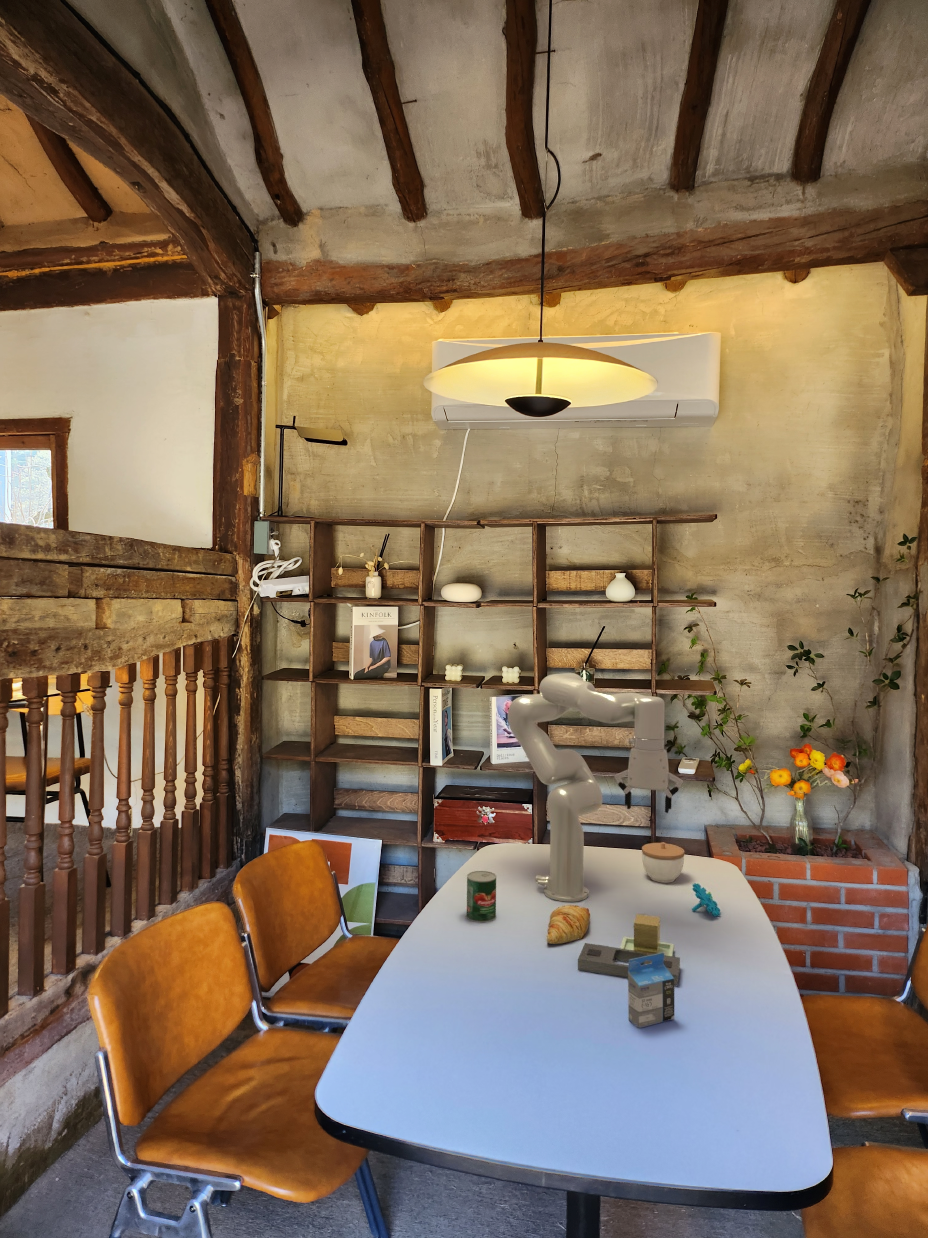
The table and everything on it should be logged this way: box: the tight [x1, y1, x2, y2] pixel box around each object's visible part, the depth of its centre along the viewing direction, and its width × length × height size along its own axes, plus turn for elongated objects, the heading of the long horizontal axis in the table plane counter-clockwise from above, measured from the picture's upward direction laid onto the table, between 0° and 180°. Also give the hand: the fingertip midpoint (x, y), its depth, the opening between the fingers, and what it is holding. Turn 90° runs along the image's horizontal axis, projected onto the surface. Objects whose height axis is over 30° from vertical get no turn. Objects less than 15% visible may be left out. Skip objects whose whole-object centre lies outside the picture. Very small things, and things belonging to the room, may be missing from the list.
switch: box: [577, 942, 681, 987], centre depth 180 cm, size 22×9×3 cm, turn 71°
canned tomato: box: [466, 870, 497, 924], centre depth 209 cm, size 8×8×11 cm
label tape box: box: [627, 953, 675, 1029], centre depth 158 cm, size 9×4×12 cm, turn 114°
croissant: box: [546, 904, 591, 945], centre depth 200 cm, size 21×10×8 cm, turn 147°
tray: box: [619, 936, 675, 957], centre depth 188 cm, size 12×8×2 cm, turn 71°
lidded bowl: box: [641, 841, 685, 884], centre depth 239 cm, size 13×13×11 cm
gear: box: [691, 882, 721, 917], centre depth 214 cm, size 11×6×10 cm
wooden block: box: [633, 913, 661, 954], centre depth 188 cm, size 6×6×8 cm
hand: (647, 809), depth 204 cm, fingers open, 9 cm apart
